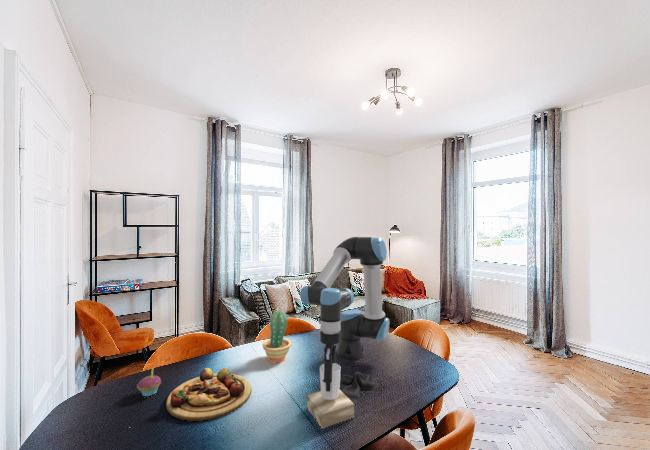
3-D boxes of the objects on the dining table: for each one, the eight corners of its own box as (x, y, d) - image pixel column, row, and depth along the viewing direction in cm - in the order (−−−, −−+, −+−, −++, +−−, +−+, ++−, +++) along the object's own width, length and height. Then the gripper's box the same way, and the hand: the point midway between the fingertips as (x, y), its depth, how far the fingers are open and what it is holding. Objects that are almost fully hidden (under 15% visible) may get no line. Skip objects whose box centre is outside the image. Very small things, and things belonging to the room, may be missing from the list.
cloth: (343, 402, 115) (343, 387, 115) (330, 379, 133) (330, 365, 133) (394, 394, 120) (394, 379, 121) (375, 372, 138) (375, 360, 138)
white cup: (338, 401, 103) (339, 373, 103) (317, 399, 104) (317, 371, 104) (342, 389, 111) (342, 363, 111) (322, 387, 112) (322, 361, 112)
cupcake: (165, 390, 121) (166, 362, 122) (147, 402, 113) (147, 371, 114) (150, 387, 124) (151, 359, 124) (131, 398, 116) (132, 368, 116)
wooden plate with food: (164, 435, 96) (165, 410, 96) (167, 387, 124) (167, 367, 124) (259, 409, 111) (260, 387, 111) (242, 372, 139) (243, 354, 139)
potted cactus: (296, 360, 150) (297, 312, 150) (269, 368, 141) (269, 317, 141) (283, 350, 163) (283, 305, 163) (257, 357, 154) (257, 309, 154)
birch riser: (307, 408, 110) (307, 394, 110) (336, 399, 116) (336, 386, 116) (322, 429, 99) (322, 414, 99) (354, 417, 104) (354, 404, 105)
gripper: (324, 321, 118) (324, 377, 118) (315, 340, 98) (315, 408, 98) (342, 322, 117) (342, 379, 117) (337, 342, 97) (336, 410, 97)
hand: (330, 392), depth 107 cm, fingers closed on white cup, 8 cm apart
